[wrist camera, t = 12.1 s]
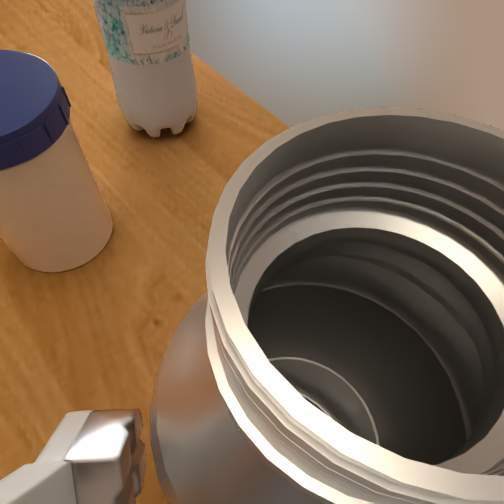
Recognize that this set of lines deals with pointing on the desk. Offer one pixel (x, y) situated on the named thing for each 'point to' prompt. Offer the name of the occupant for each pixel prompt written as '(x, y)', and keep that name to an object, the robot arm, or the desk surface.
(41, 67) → the lid
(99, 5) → the bottle
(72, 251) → the jar
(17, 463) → the desk surface
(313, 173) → the silver ringed container
